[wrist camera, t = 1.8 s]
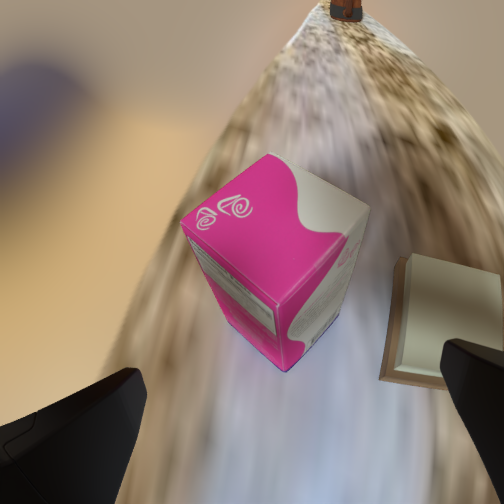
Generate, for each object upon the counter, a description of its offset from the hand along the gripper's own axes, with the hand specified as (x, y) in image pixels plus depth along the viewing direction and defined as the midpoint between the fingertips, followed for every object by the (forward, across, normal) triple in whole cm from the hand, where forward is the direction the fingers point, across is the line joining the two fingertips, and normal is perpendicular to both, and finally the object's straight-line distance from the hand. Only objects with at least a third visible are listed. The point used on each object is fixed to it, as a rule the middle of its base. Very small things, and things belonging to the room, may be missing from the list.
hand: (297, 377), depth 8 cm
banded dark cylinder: (+66, -25, -48) cm, 85 cm away
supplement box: (+13, 0, +4) cm, 14 cm away
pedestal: (+11, -12, +6) cm, 17 cm away
